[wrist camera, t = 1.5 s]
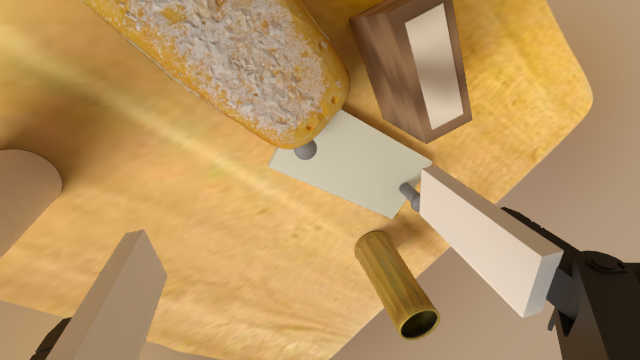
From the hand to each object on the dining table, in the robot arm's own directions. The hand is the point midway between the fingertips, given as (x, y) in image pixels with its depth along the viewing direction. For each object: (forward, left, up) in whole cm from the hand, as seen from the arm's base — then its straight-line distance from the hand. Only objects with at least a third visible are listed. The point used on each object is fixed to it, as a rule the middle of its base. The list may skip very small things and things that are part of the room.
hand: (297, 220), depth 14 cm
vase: (+11, +23, -22) cm, 34 cm away
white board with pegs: (0, +12, -22) cm, 25 cm away
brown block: (-12, +9, -22) cm, 26 cm away
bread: (-6, -8, -22) cm, 24 cm away
